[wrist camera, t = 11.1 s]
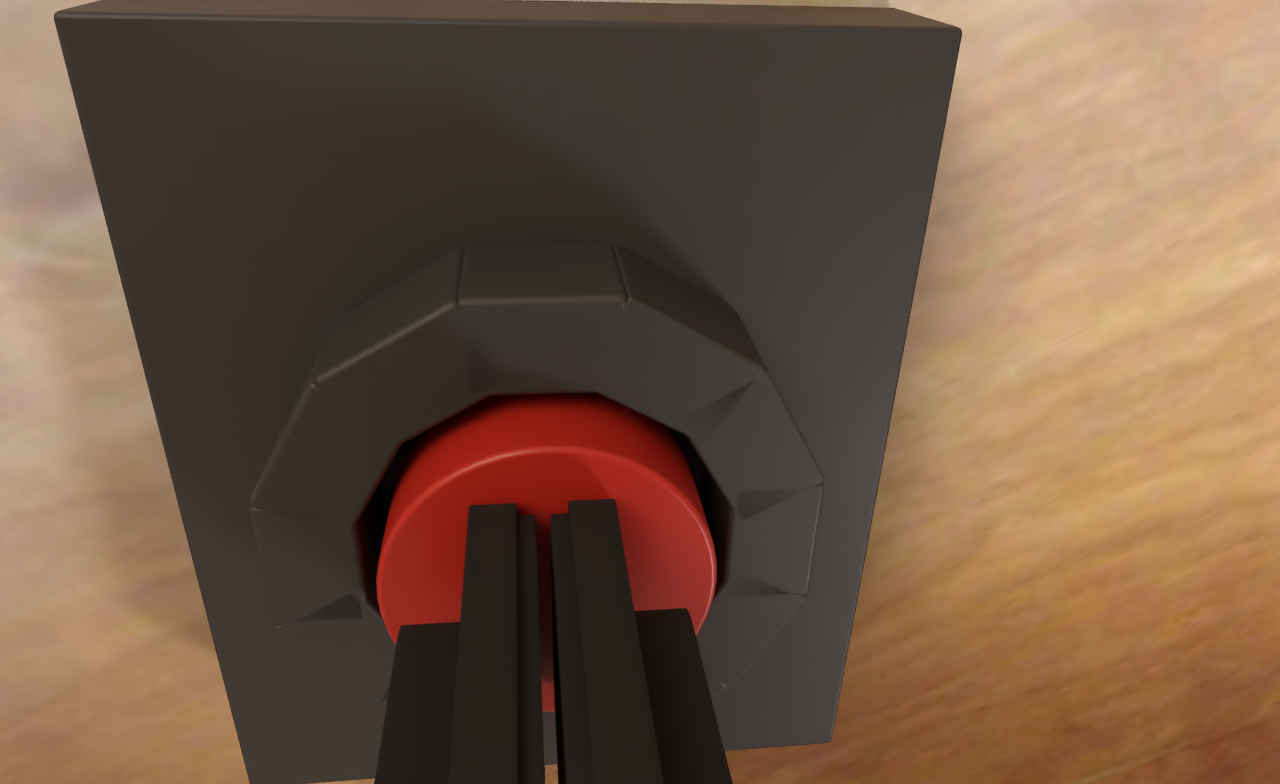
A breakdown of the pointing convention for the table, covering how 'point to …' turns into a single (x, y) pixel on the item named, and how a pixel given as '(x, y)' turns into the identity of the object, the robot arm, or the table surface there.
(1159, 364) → the table surface
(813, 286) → the control block
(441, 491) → the red button
